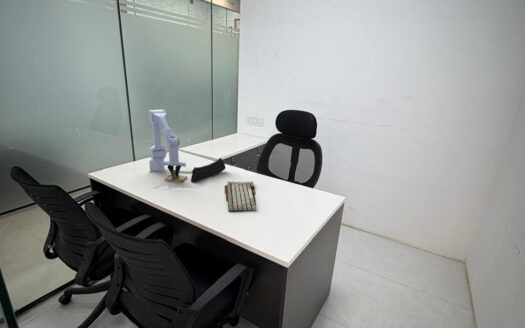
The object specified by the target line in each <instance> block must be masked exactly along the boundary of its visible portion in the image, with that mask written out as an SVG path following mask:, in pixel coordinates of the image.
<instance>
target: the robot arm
mask: <svg viewBox="0 0 525 328" xmlns="http://www.w3.org/2000/svg"><path fill="white" fill-rule="evenodd" d="M148 121H149V123H151V129H152V140H153V146H151V147H149V156H150V159H149V163H148V164H149V172H150V173H153V172H163V171H165V170H166V168H165V166H167V169H168V171H169V173H170V175H171V176H172V172H173V171H174V170H176V177H178V175H179V174H180V173H179V171H180V168H181V167H187V163H186V162H182V161H180V159H179V155H180V154H179V146H180V144H181V143H180V139H179V137H178V136H177V135H175V133H174V131H173V128H171V127H169V124H168V122H167V111H166V110H165V109H150V110H149V111H148ZM161 128H162V129H163V130H162V133H163V135H164V139H165V140H166V146H167V151H168V160H169V161H165V159H166V157H167V151H166V147H165V146H164V145H162V138H161V136H162V135H161ZM179 176H180V175H179Z"/></svg>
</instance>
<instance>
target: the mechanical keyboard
mask: <svg viewBox="0 0 525 328" xmlns="http://www.w3.org/2000/svg"><path fill="white" fill-rule="evenodd" d="M226 182H227V184H225V185H224V195H225V200H226V201H225V202H227V208H228V209H227V210H228V211H227V212H228V213H245V212H252V211H253V212H254V211H257V208H256V206H257V205H256V204H257V203H256V197H255V196H256V194H257V191H256V189H255V185H254V181H252V180H251V181H233V180H232V181H226Z"/></svg>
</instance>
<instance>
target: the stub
mask: <svg viewBox="0 0 525 328" xmlns="http://www.w3.org/2000/svg"><path fill="white" fill-rule="evenodd" d="M187 179H188V175H178V177H176V170H175V169H174V171H173V172H172V176H171V174H169V175H167V176H166V177H165V179H164V182H175V183H176V182H177V183H184V182H185V181H186V180H187Z"/></svg>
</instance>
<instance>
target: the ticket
mask: <svg viewBox="0 0 525 328" xmlns="http://www.w3.org/2000/svg"><path fill="white" fill-rule="evenodd" d="M193 169H194V167H189V166H185V167H183V166H181V168H180V171H179V174H192V171H193Z"/></svg>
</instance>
